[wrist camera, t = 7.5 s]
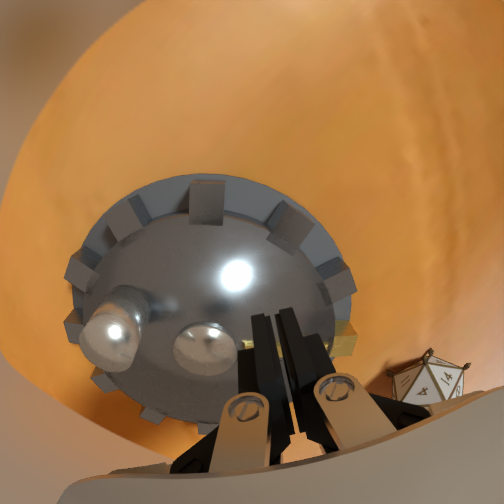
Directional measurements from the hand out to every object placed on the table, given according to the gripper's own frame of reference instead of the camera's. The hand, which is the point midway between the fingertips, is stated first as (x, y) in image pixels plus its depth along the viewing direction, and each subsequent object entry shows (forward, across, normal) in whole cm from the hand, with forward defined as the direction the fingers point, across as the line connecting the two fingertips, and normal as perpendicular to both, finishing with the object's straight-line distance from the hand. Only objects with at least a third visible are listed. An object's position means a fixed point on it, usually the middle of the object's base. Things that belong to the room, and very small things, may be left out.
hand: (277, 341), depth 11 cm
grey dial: (+8, +4, +3) cm, 10 cm away
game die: (+9, -12, +14) cm, 21 cm away
